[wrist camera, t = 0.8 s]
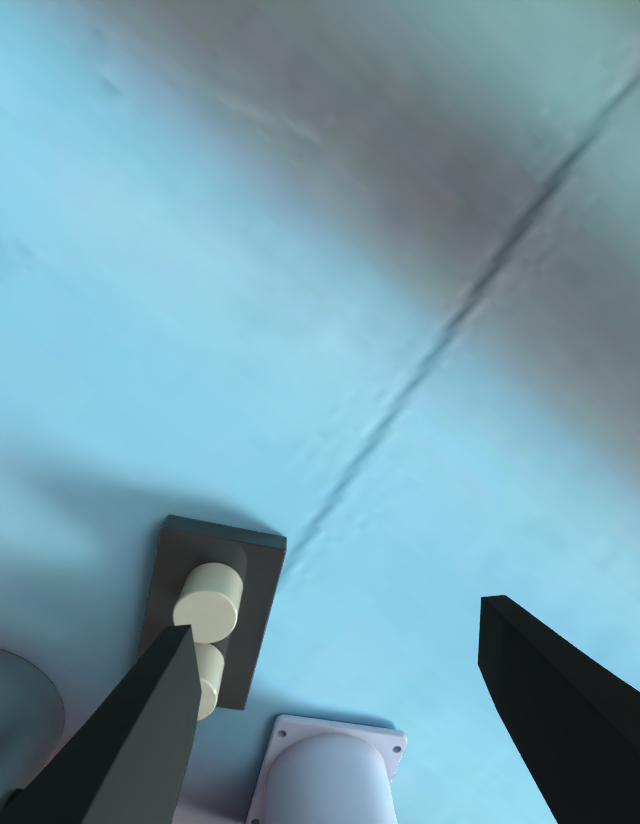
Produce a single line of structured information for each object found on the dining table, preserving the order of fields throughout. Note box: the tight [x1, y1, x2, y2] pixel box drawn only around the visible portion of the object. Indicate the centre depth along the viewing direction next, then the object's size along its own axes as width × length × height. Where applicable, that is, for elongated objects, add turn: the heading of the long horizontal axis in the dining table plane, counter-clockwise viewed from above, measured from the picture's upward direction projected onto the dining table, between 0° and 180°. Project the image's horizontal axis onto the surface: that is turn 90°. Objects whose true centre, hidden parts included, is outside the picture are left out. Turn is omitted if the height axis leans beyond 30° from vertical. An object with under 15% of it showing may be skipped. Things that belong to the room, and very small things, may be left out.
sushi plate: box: [137, 515, 287, 721], centre depth 19 cm, size 10×6×3 cm, turn 165°
